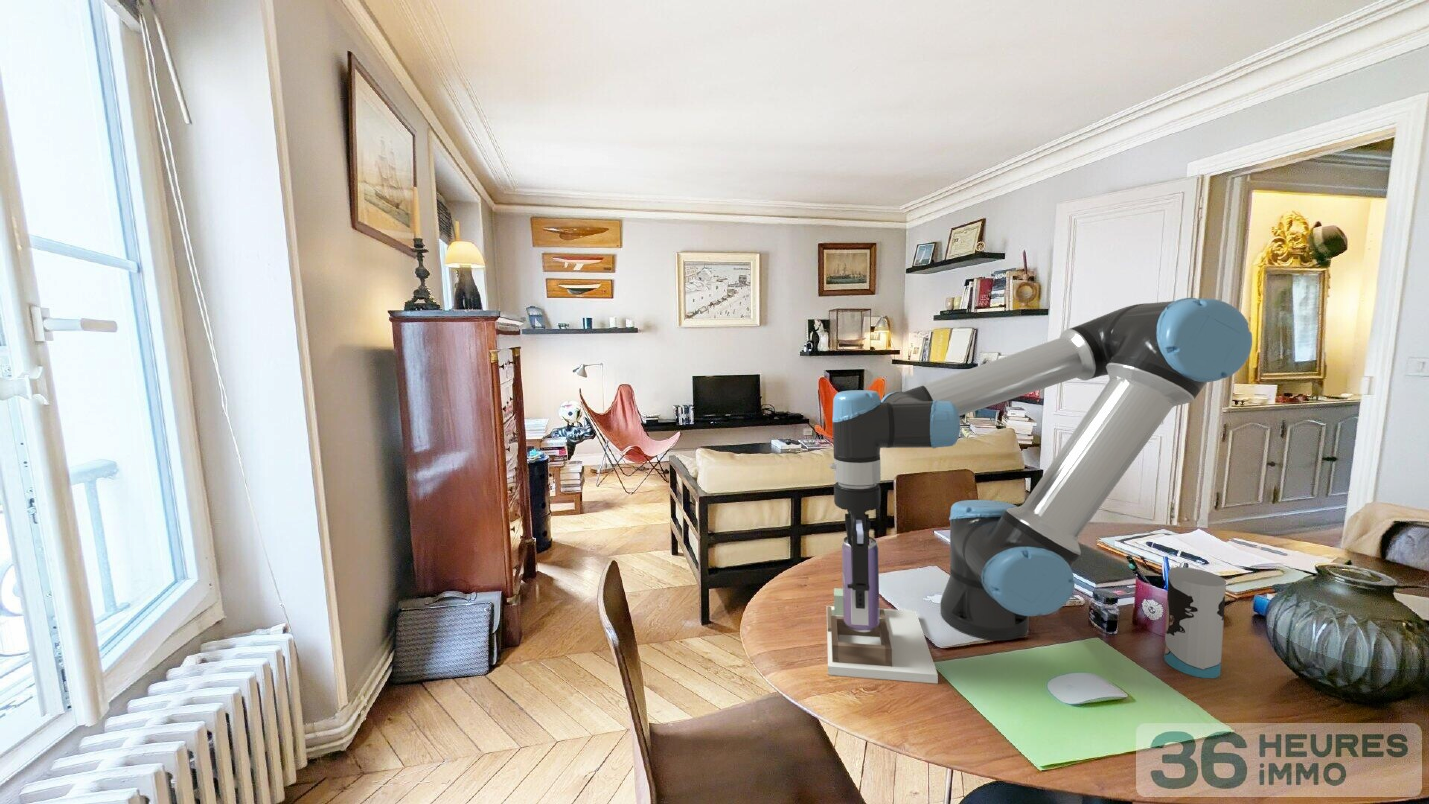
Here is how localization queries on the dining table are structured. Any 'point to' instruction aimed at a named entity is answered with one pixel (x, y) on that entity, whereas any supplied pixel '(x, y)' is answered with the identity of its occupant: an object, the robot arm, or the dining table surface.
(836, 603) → the block
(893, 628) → the board
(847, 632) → the socket
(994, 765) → the dining table surface
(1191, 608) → the cup
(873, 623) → the beverage can
